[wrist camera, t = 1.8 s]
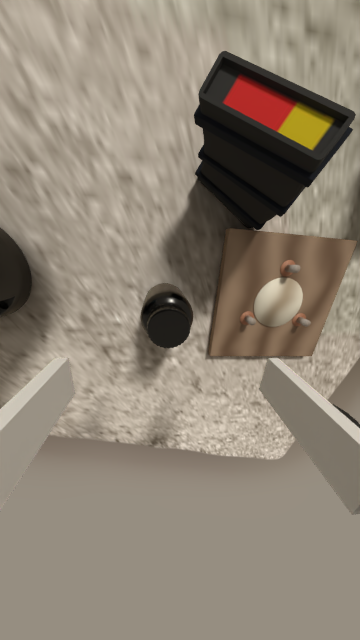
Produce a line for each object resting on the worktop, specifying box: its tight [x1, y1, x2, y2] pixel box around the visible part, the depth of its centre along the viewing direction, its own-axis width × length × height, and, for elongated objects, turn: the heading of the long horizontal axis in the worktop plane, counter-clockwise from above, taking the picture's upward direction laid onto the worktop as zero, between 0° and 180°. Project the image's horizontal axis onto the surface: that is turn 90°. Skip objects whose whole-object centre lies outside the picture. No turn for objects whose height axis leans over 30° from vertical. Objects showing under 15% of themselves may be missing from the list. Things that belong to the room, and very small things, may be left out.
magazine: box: [194, 51, 356, 230], centre depth 19 cm, size 4×13×15 cm, turn 55°
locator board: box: [208, 228, 357, 356], centre depth 29 cm, size 22×22×4 cm
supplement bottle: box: [141, 283, 193, 348], centre depth 23 cm, size 7×7×12 cm
